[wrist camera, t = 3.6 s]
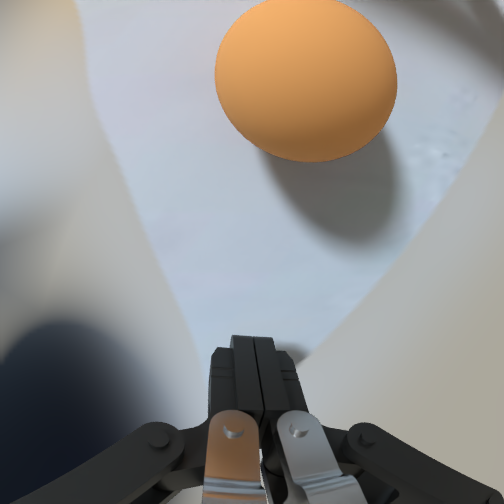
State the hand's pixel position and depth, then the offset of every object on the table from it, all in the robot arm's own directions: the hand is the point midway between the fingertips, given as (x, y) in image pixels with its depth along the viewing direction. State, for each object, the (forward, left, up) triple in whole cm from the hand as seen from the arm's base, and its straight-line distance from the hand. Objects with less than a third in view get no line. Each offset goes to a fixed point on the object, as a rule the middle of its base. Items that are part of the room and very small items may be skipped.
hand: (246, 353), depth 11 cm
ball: (-8, -6, 0) cm, 10 cm away
